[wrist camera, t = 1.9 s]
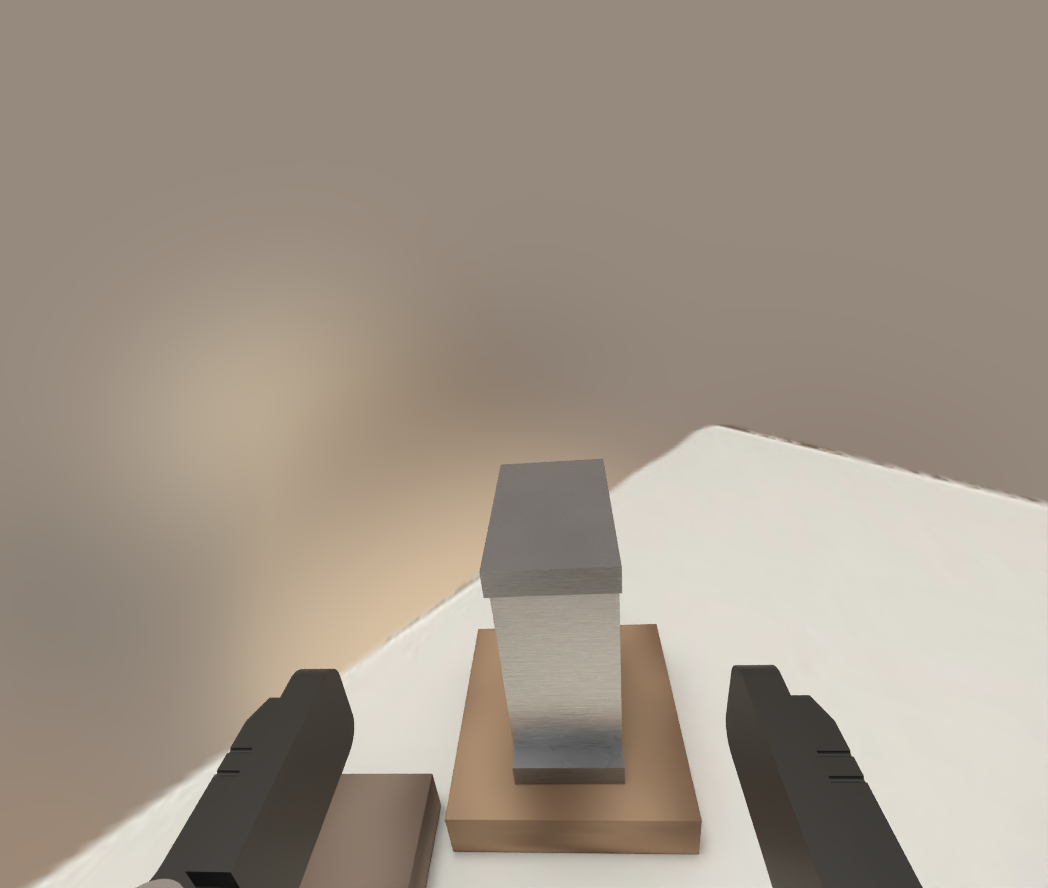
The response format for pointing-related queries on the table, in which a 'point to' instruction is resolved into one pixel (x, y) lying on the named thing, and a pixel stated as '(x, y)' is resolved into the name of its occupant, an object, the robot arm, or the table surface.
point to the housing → (557, 620)
